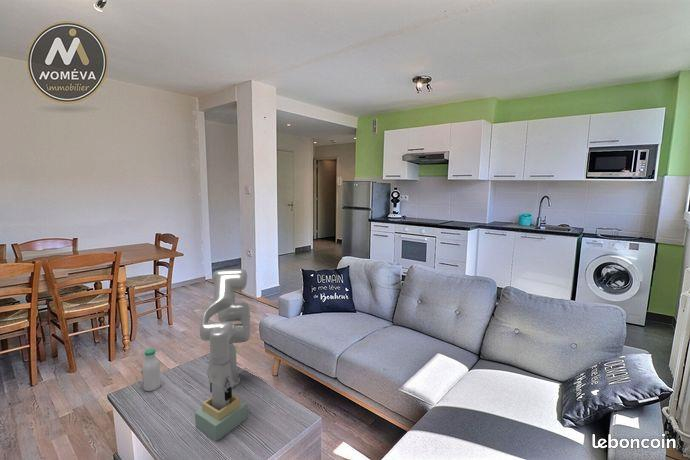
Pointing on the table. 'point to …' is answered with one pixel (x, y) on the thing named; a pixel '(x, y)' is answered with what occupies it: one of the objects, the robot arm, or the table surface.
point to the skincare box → (219, 397)
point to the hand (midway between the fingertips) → (221, 394)
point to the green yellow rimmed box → (220, 417)
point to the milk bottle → (151, 371)
